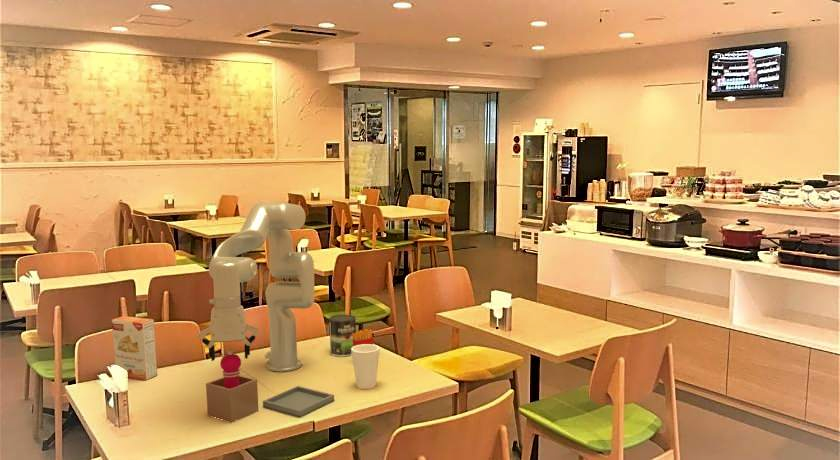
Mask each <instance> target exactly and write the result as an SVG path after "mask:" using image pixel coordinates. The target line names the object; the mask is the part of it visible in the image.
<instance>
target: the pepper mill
mask: <svg viewBox="0 0 840 460" xmlns="http://www.w3.org/2000/svg"><path fill="white" fill-rule="evenodd" d="M241 365H242V360H241V358H240V356H239V355H237V354H236V353H235V354H234V350H233V349H228V350H227V351H226V355H224V356H222V358H221V360H220V365H219V366H220V369H222V377H224V378H225V385H224V387H225V388H229V389H231V388H234V387H236V386H239V380H238V375H241V373H240V367H241Z"/></svg>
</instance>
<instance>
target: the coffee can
mask: <svg viewBox="0 0 840 460" xmlns="http://www.w3.org/2000/svg"><path fill="white" fill-rule="evenodd" d="M328 320H329V351H330V352H329V354H330V356H332V357H339V358H340V357H341V358H342V357H343V358H345V357H346V358H347V357H352V356H351V348H352V347H354V346H353V336H352V334H353V333H354V334H355V333H356V332H357V327H356V324H357V323H356V320H357V318H356V315H351V314H337V315H332V316H330V317H329V318H328Z"/></svg>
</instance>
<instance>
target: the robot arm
mask: <svg viewBox="0 0 840 460" xmlns="http://www.w3.org/2000/svg"><path fill="white" fill-rule="evenodd" d="M306 218H307V217H306V211H305V209H304V208H303V207H302V206H301V205H300V204H294V203H290V202H289V203H288V202H258V203H255V204H254V205H253V206H252V207H251V208H250V210H249V213H248V215H247V216H246V219H245V221H244V223H243V224H242V227H241V229H240V231H238V232H236V233H234V234H233V235H231V236H230V237H228V238H227V239H225V240H224V241H222V242H221V243H220V244H219V245H218V246H217V248H216V249H215V251H214V253H213V255H212V257H211V260H210V262H209V265H208V273H209V276H210V278H212V280H213V298H211V299H209V300H208V301H209V302H208V304H209V305H213V307H212V308H211V312H210V326H209V327H206V328H205V329H203V330H202V331H200V332H199V333H198V337H199V339H200V340H201V342H202V344H204V345H205V346H206V347H207V348H208V357H209V358H211V360H210V361H211V362H214V361H215V359H216V355H215V354H216V352H215V351H216V350H215V345H214V344H215V343H228V342H241V341H242V342H243V343H244V346H243V347H244V348H243V349H244V359H248V357H249V356H250V355H251V349H250V348H251V347H250V345H251V344H252V343H253V342H254V341H255V339H256V338H257V335H258V333H259V329H258V328H257V327H254V326H252V325H249V324H247V322H246V314H245V310H244V306H243V305H241V303H242V301H241V284H240V283H247V282H249V281H251V280H253V279H255V277H256V275H257V273H258V263H256V261H255V260H254V258H251V257H248V256H245V257H244V256H240V255H243V254H247V253H248V252H252V251H255V250H258V249H260V248H261V247H262V246H263V245H264V244H265V243H266V240H268V263H269V272H270V273H269V274H270V275H271V277H273V278H278V279H298V281H274V282H271V283H269V284H268V285H267V286H266V288H265V293H264V295H265V296H264V297H265V301H266V305H267V310H268V317H269V318H268V320H269V343H270V345H269V347H270V348H269V349H270V351H268V352H267V353H266V354H265V355H264V358H265V359H268V362H267V363H266V369H267V370H269V371H272V372H278V373H279V372H281V373H282V372H283V373H284V372H290V371H291V372H292V371H294V370H295V371H296V370H298V369H300V368H301V367H302V366H303V364H302V363H303V361H302V360H301V359H299V358H298V346H297V345H298V343H297V342H298V340H297V319H296V316H295V313H294V312H293V311H292V309H299V310H300V309H310V308H311V307H313V304H314V301H315V264H314V259H313V256H312V255H311V254H310V253H308V252H305V251H294V243H293V242H294V240H293V236H292V234H291V233H290V231H289V230H300V229H302V228H303V227H304V225H305V222H306ZM247 331H249V332H251V333H252V334H251V336H250V337H248V336H247ZM209 333H210V340H209V339H208V338H207V337H206V335H207V334H209Z"/></svg>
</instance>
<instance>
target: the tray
mask: <svg viewBox="0 0 840 460" xmlns="http://www.w3.org/2000/svg"><path fill="white" fill-rule="evenodd" d="M333 402H335V395H334V394H332V393H328V392H324V391H319V390H315V389H312V388H309V387H305V386H301V385H297V386H294V387H291V388H290V389H288V390H284V391H282V392H280V393H278V394H276V395H273V396H271V397H268V398H267V399H265V400H262V408H264V409H268V410H272V411H276V412H279V413H282V414H285V415H289V416H293V417H296V418H303V417H304V416H307V415H308V414H311V413H312V412H314V411H317V410H318V409H321V408H322V407H325V406H326V405H329V404H331V403H333Z"/></svg>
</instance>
